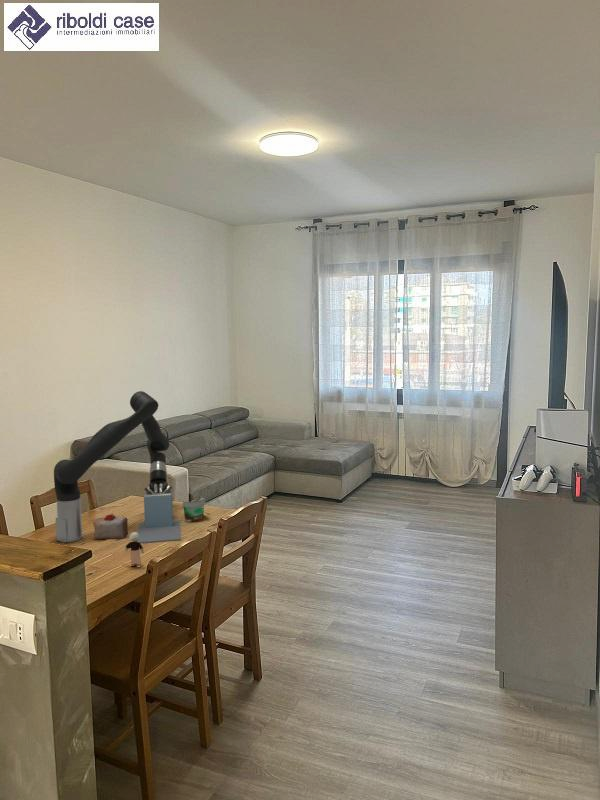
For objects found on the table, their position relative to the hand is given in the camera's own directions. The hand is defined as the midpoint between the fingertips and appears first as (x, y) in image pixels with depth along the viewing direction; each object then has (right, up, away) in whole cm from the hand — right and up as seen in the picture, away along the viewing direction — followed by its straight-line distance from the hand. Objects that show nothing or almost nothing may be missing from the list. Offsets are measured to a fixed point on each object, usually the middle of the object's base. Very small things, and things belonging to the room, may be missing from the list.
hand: (158, 506), depth 264 cm
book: (+1, -8, -3) cm, 9 cm away
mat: (+3, -9, -9) cm, 13 cm away
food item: (-16, -11, -15) cm, 25 cm away
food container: (+16, -8, +6) cm, 19 cm away
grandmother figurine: (+3, -14, -47) cm, 49 cm away
